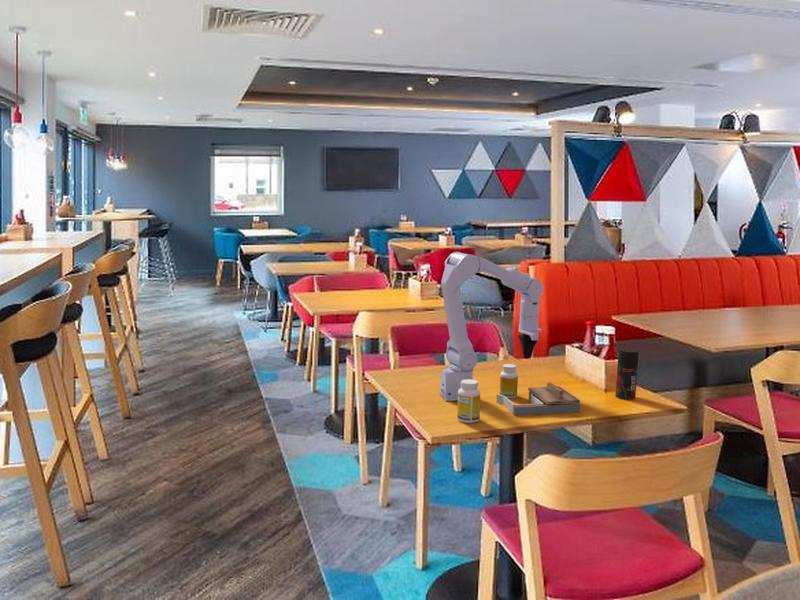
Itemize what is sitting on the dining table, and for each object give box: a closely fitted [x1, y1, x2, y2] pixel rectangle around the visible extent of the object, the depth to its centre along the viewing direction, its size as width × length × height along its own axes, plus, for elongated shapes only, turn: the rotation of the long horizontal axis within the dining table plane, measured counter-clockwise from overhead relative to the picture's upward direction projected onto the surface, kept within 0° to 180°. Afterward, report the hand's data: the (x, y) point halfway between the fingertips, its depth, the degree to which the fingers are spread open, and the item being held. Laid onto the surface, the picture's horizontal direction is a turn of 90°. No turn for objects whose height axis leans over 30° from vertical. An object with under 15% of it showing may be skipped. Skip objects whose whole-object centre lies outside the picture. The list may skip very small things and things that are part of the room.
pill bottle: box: [457, 379, 481, 424], centre depth 198 cm, size 6×6×11 cm
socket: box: [496, 390, 581, 417], centre depth 212 cm, size 21×14×2 cm
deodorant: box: [614, 347, 640, 401], centre depth 222 cm, size 6×6×15 cm
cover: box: [527, 382, 581, 405], centre depth 212 cm, size 10×14×3 cm
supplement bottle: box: [499, 363, 519, 399], centre depth 221 cm, size 5×5×10 cm
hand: (527, 357), depth 227 cm, fingers closed
